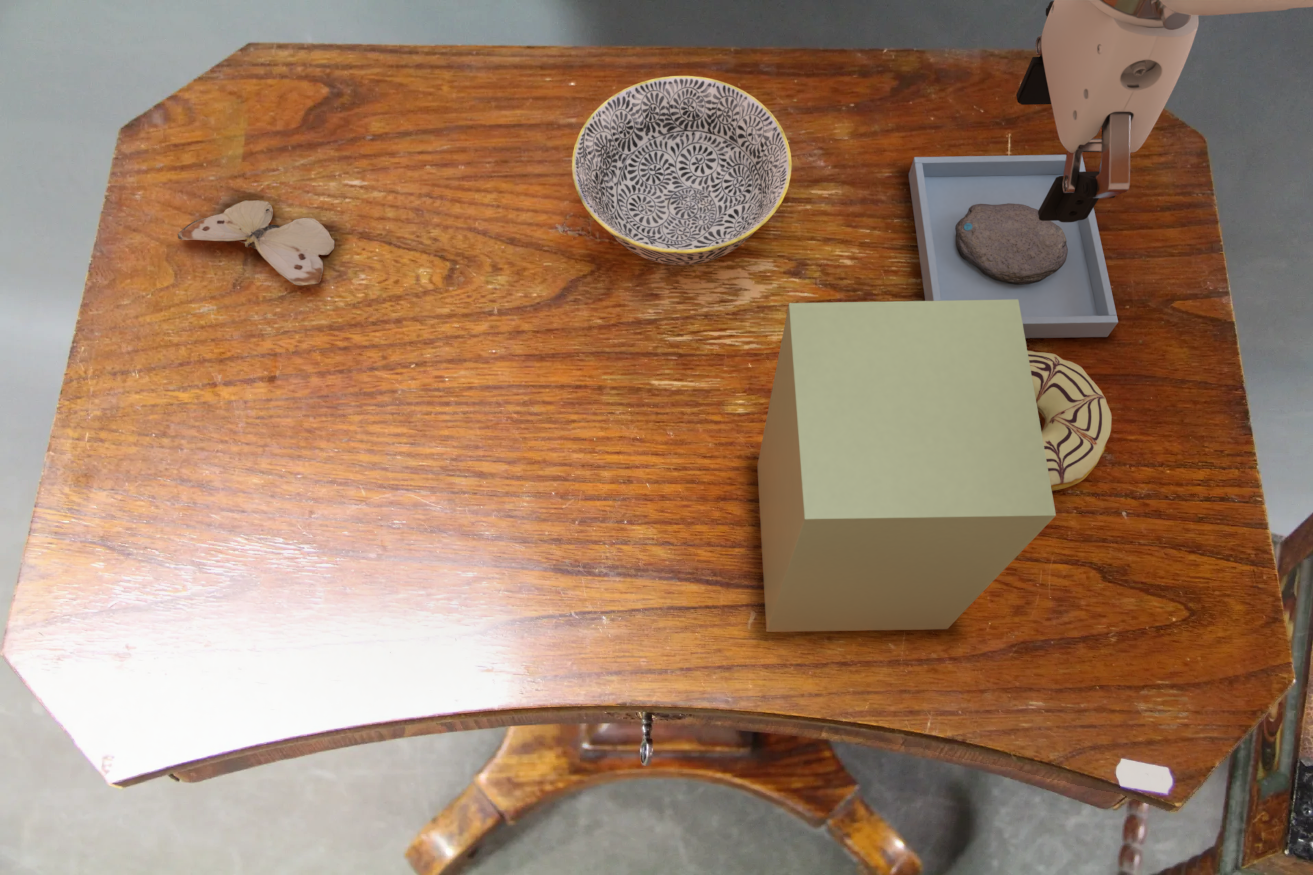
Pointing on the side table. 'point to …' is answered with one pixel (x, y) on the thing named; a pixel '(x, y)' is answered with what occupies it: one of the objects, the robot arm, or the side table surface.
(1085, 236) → the tray
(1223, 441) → the side table surface
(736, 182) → the bowl
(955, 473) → the stand
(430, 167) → the side table surface
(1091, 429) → the decorated donut
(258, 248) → the butterfly
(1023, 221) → the stone
